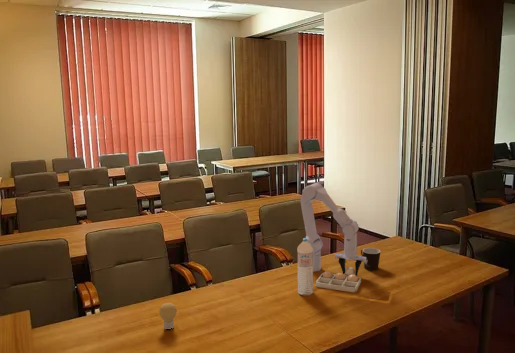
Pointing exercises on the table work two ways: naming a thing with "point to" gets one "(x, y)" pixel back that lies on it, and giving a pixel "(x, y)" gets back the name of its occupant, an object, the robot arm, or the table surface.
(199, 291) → the table surface
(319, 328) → the table surface
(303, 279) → the water bottle
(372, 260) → the coffee mug
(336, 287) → the carton
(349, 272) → the white rounded ball
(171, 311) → the light bulb
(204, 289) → the table surface
